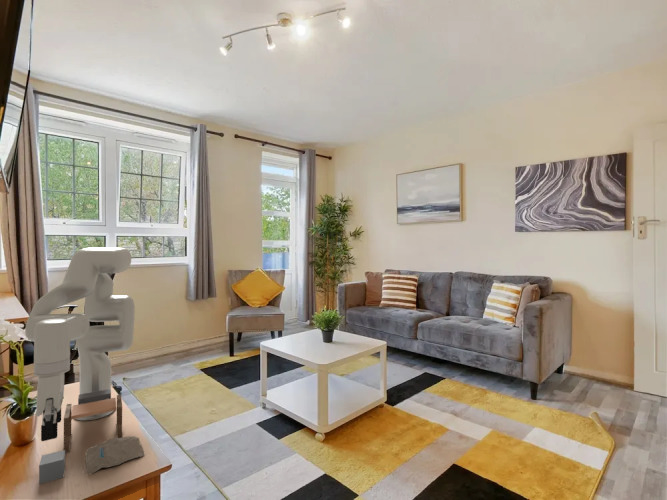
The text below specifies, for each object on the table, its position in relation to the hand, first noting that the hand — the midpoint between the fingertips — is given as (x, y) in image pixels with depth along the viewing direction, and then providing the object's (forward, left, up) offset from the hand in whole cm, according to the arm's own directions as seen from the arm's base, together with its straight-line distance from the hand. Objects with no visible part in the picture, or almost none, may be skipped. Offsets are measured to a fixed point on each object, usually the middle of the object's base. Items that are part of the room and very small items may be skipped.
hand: (51, 430), depth 94 cm
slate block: (-1, 0, -13) cm, 13 cm away
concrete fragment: (+1, +15, -13) cm, 19 cm away
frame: (-16, +9, -12) cm, 22 cm away
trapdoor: (-20, +9, -4) cm, 22 cm away
